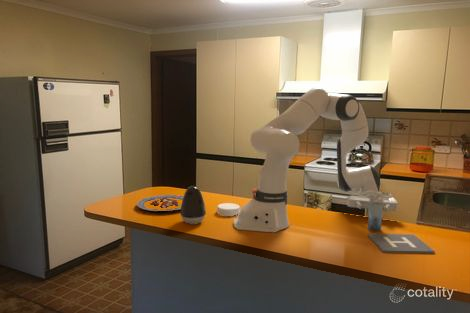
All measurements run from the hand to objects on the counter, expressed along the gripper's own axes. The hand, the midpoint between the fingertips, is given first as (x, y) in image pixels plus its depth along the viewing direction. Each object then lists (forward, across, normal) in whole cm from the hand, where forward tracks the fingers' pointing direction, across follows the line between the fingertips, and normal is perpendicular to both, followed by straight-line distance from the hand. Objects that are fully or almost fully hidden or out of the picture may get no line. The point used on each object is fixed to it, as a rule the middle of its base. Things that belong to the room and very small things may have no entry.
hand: (373, 208), depth 148 cm
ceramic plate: (+4, -92, +7) cm, 92 cm away
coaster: (+5, -60, +7) cm, 61 cm away
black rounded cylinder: (+21, -71, +7) cm, 74 cm away
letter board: (+21, +7, +6) cm, 23 cm away
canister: (+8, 0, +6) cm, 10 cm away
